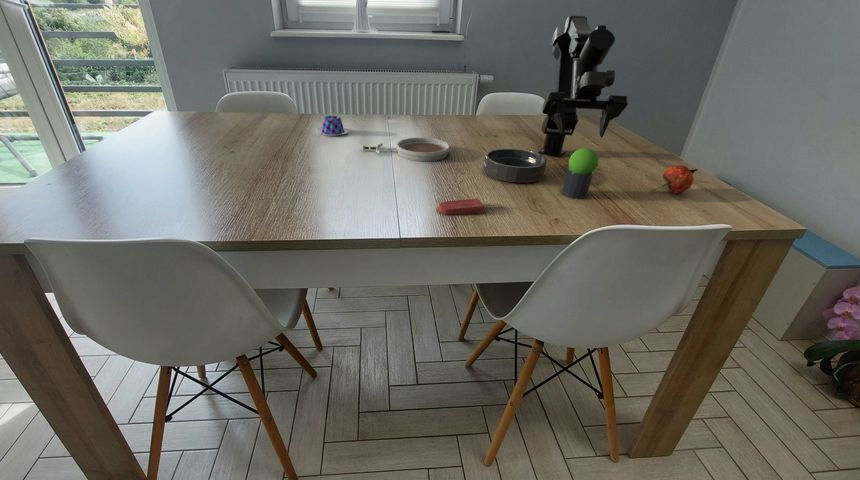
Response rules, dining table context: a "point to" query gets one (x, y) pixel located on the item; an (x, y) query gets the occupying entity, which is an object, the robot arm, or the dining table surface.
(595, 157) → the ball
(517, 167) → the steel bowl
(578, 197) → the stand cup
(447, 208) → the popsicle
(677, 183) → the red rounded piece
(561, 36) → the robot arm
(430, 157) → the frying pan
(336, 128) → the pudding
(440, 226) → the dining table surface
